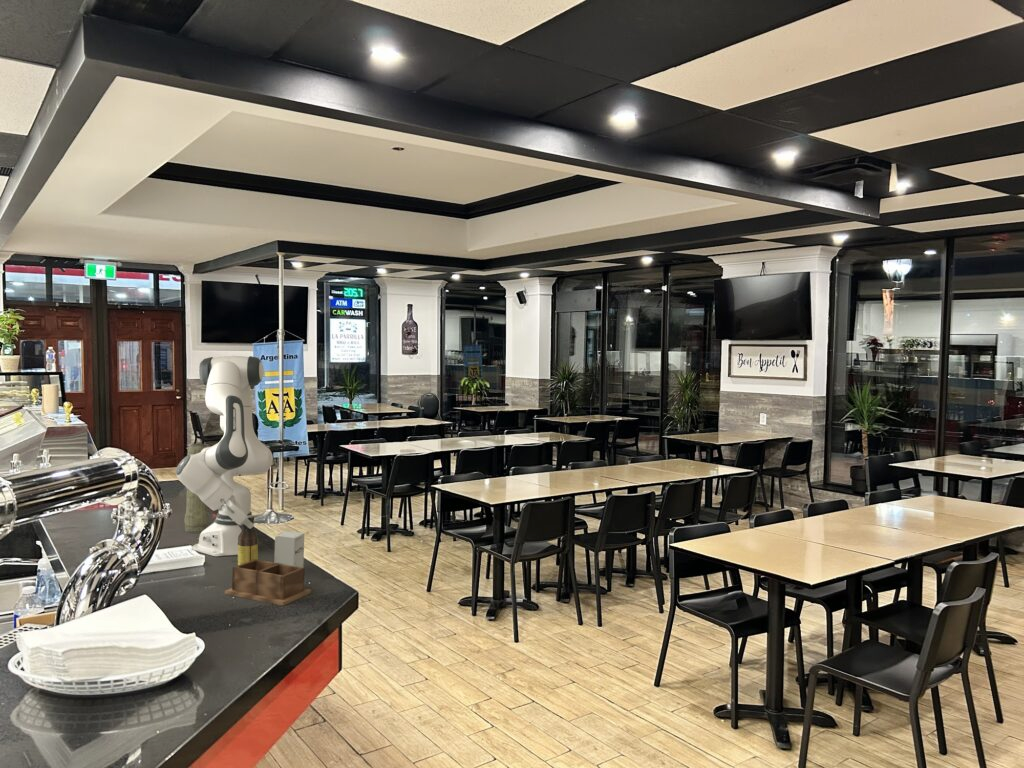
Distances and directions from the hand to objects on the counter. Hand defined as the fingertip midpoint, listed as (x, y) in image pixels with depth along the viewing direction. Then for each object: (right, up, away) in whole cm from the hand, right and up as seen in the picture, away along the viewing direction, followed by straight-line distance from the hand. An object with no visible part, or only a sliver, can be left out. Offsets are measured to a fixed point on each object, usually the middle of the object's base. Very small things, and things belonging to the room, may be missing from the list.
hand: (250, 524), depth 240 cm
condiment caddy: (+10, -18, -14) cm, 25 cm away
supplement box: (+10, -18, +9) cm, 22 cm away
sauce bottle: (-1, -17, 0) cm, 17 cm away
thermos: (-42, -13, +57) cm, 72 cm away
